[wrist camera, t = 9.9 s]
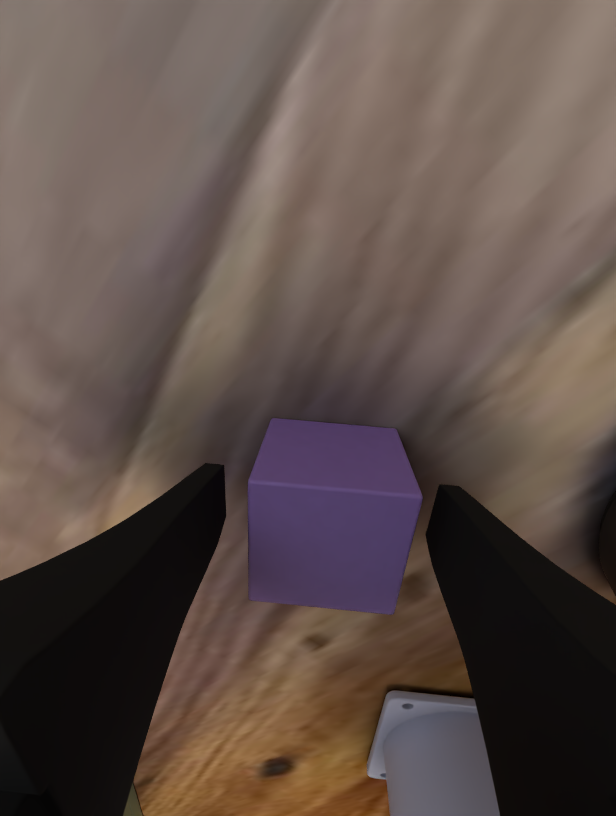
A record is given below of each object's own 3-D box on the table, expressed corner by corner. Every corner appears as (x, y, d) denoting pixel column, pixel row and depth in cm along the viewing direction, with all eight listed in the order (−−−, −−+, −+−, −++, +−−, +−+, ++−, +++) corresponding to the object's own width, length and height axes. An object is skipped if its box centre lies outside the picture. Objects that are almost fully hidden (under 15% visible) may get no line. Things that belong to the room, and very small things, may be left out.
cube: (397, 427, 11) (424, 497, 8) (377, 525, 13) (394, 616, 10) (270, 416, 11) (247, 480, 8) (268, 515, 13) (247, 601, 10)
